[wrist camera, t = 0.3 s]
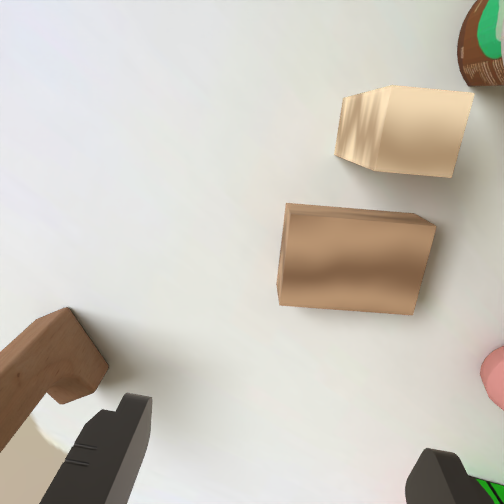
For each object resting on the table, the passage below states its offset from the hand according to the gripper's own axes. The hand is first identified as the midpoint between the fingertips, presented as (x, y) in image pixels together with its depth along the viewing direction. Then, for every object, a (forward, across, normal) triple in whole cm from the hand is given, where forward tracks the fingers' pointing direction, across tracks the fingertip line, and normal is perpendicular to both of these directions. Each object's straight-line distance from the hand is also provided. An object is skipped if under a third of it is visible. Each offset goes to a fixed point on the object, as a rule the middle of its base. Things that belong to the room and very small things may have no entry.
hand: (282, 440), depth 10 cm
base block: (+28, -8, +5) cm, 29 cm away
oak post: (+28, -6, -7) cm, 30 cm away
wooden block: (+24, +20, +21) cm, 38 cm away
